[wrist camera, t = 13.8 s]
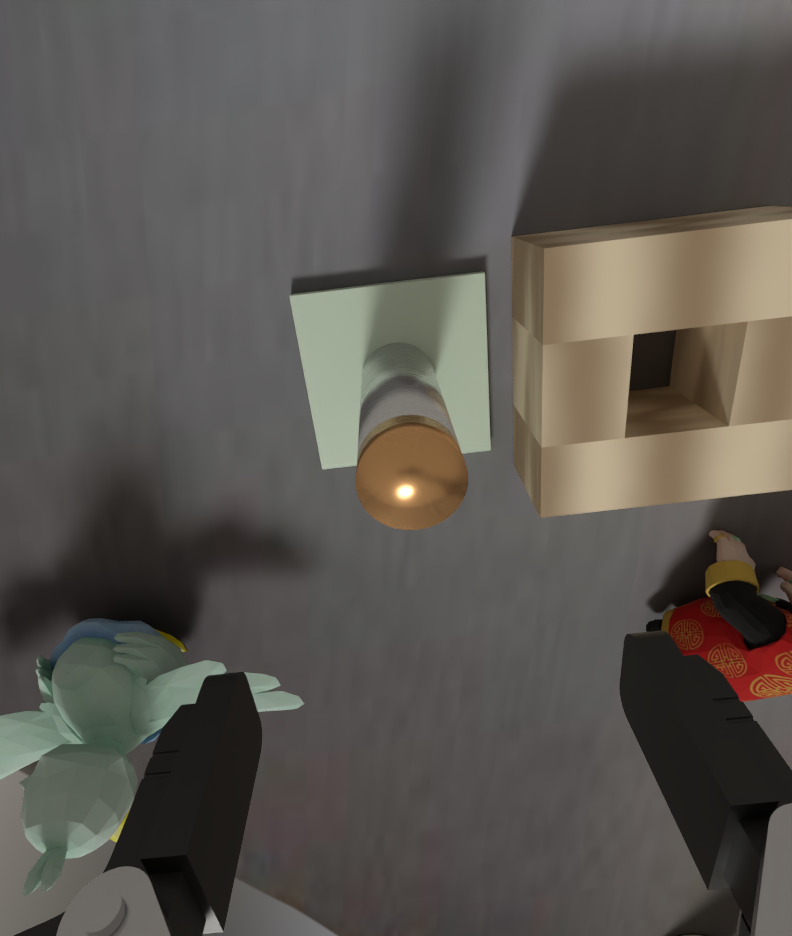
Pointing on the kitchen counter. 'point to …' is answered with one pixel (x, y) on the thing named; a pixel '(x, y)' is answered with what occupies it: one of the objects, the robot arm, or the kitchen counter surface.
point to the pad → (391, 321)
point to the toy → (100, 732)
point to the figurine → (737, 624)
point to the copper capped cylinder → (406, 442)
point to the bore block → (693, 365)
